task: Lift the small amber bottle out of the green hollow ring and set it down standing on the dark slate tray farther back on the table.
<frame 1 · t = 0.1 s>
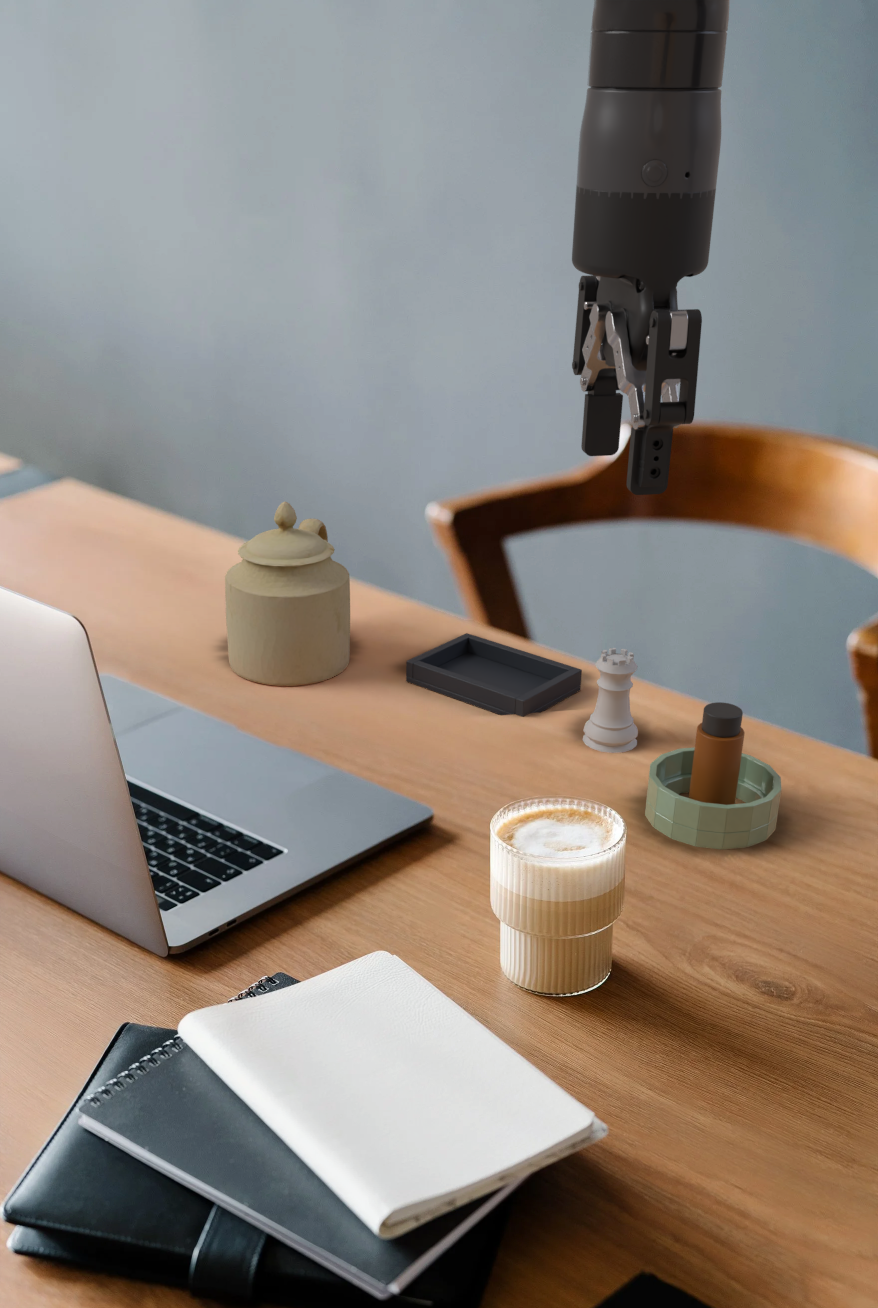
hand: (621, 472, 83), 27 cm above the table, tool pointing down, fingers open, 8 cm apart
bottle: (708, 824, 99), point 1 cm above the table, touching green hollow ring
green hollow ring: (707, 831, 99), on the table
rook chess piece: (609, 748, 111), on the table
sugar bowl: (285, 656, 128), on the table
tray: (492, 686, 122), on the table
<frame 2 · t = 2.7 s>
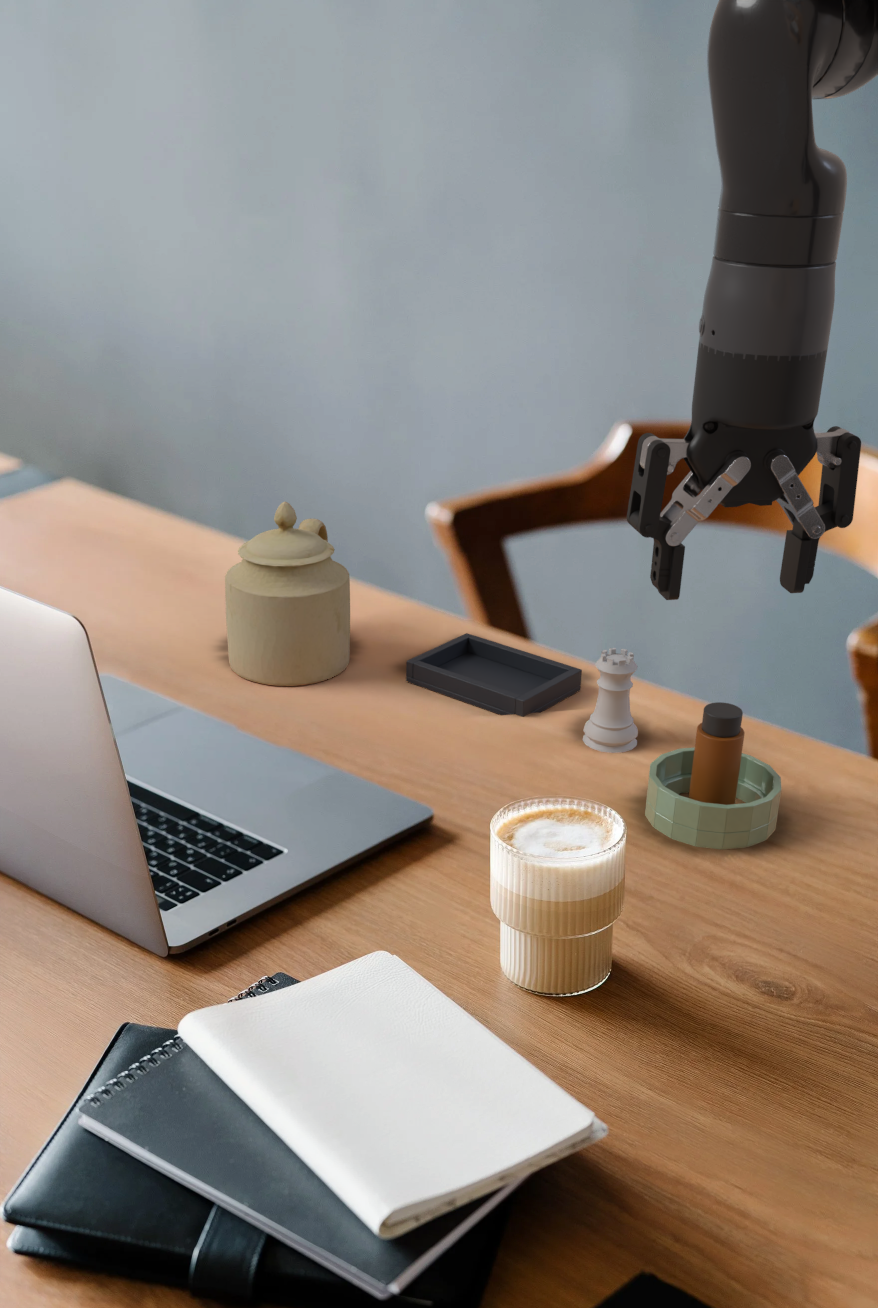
hand: (730, 592, 91), 18 cm above the table, tool pointing down, fingers open, 8 cm apart
nothing on the table moved.
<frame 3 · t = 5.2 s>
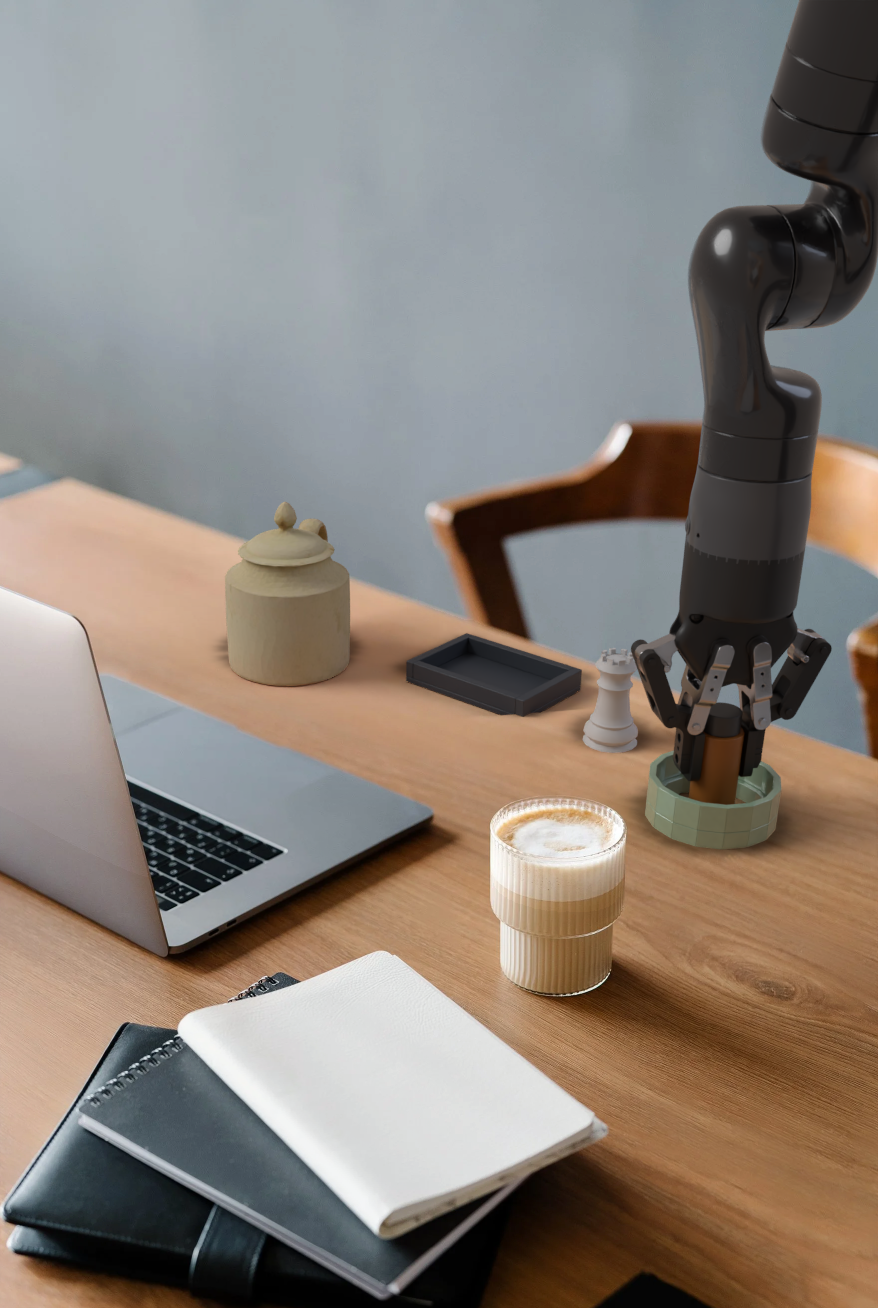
hand: (715, 772, 97), 5 cm above the table, tool pointing down, fingers closed on bottle, 3 cm apart
bottle: (708, 824, 99), point 1 cm above the table, touching green hollow ring, gripper
everything else where it was.
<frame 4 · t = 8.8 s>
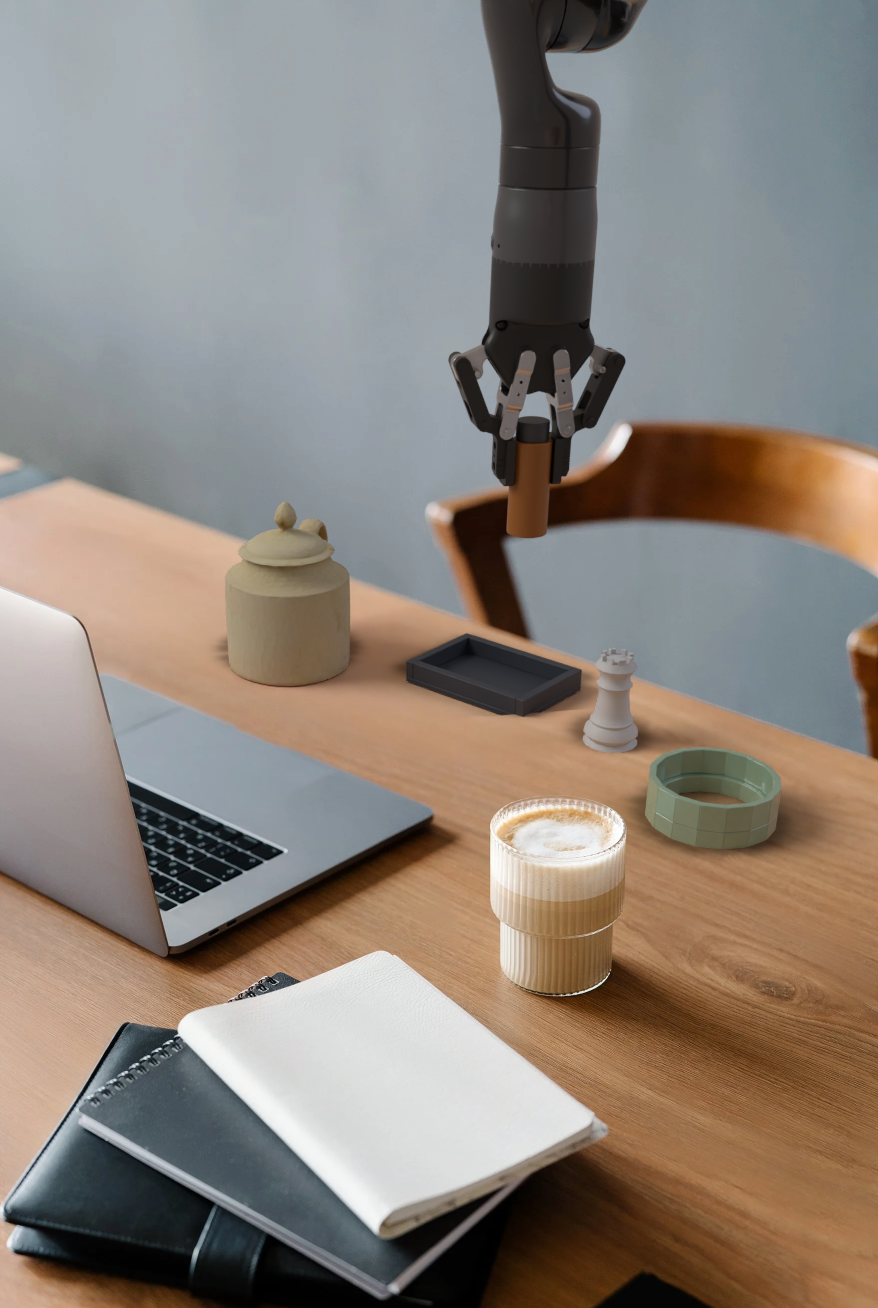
hand: (529, 481, 109), 19 cm above the table, tool pointing down, fingers closed on bottle, 3 cm apart
bottle: (526, 532, 111), point 15 cm above the table, touching gripper
everything else where it was.
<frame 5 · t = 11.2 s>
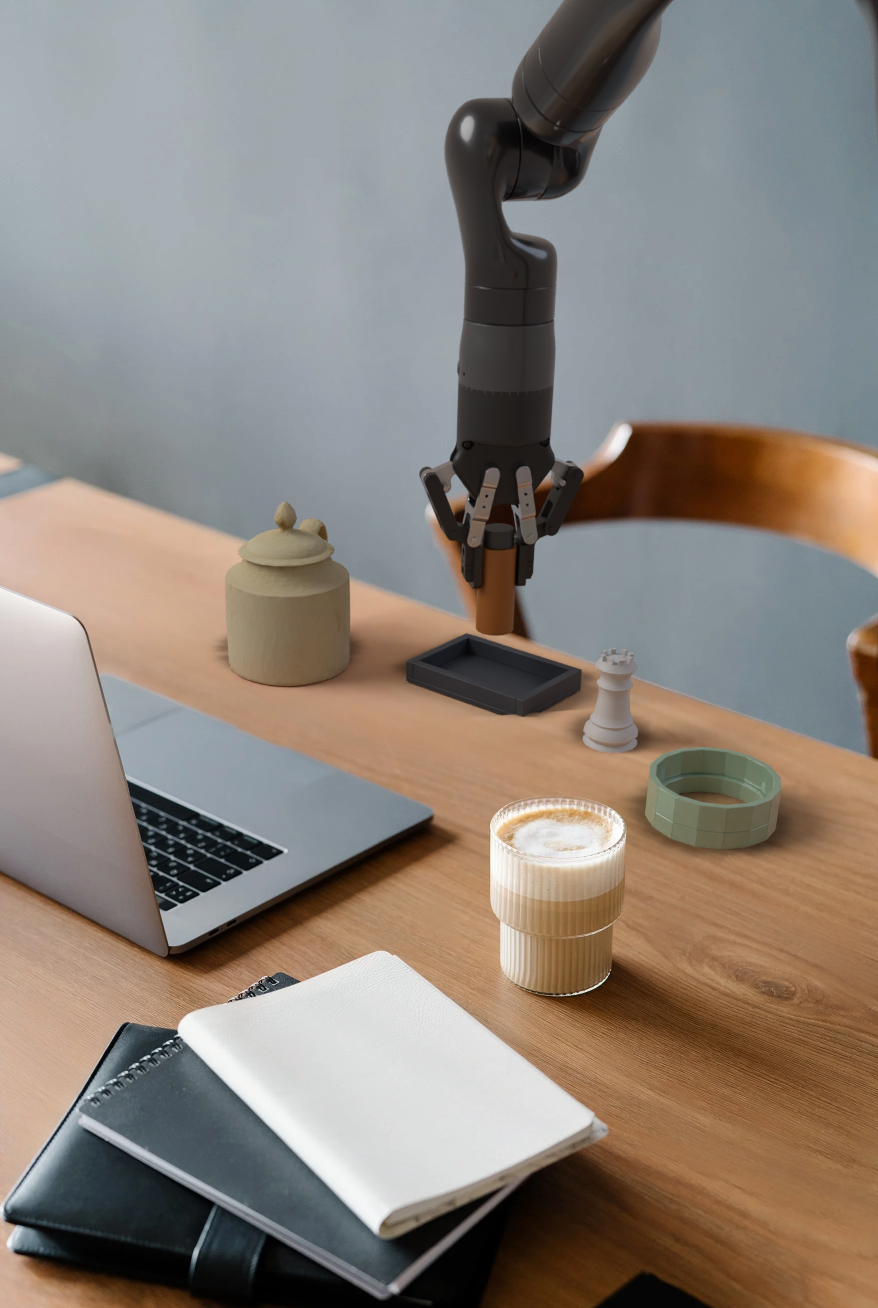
hand: (496, 583, 117), 9 cm above the table, tool pointing down, fingers closed on bottle, 3 cm apart
bottle: (494, 628, 119), point 5 cm above the table, touching gripper
everything else where it was.
when the fingers open (5 cm above the table, at t = 12.8 s): bottle stays where it is, resting on tray.
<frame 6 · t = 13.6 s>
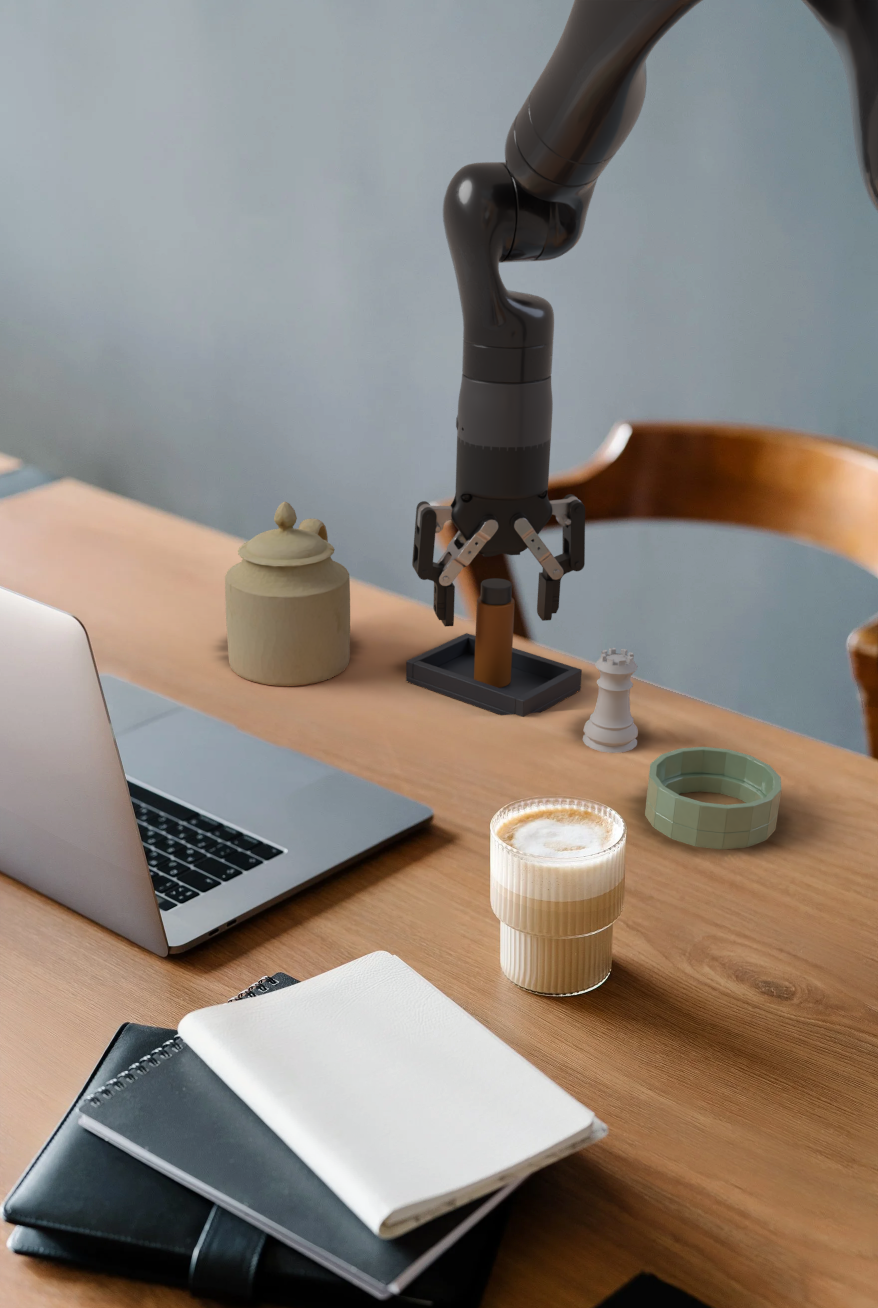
hand: (495, 620, 119), 6 cm above the table, tool pointing down, fingers open, 8 cm apart
bottle: (492, 680, 121), resting on tray
everything else where it was.
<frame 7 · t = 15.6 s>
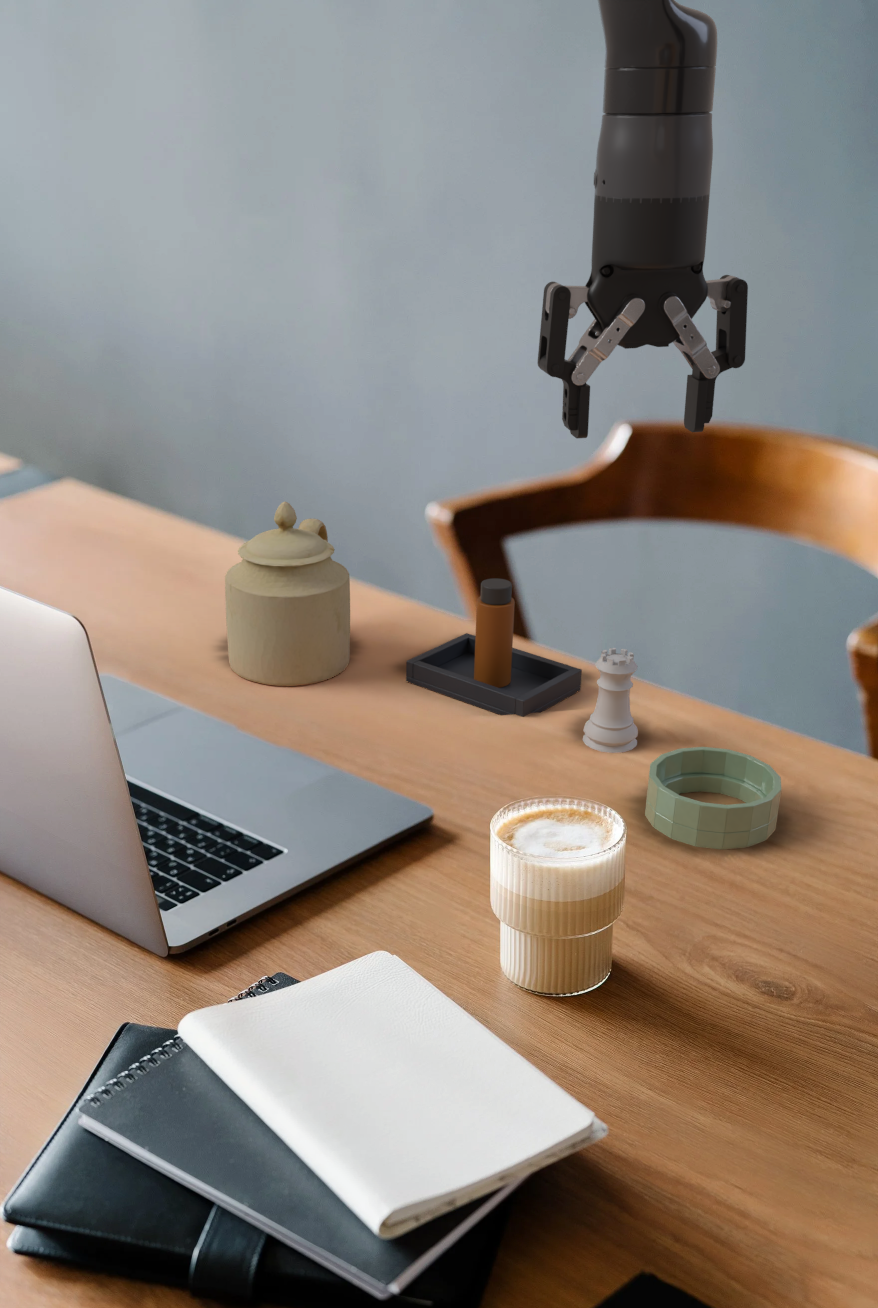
hand: (636, 432, 99), 25 cm above the table, tool pointing down, fingers open, 8 cm apart
nothing on the table moved.
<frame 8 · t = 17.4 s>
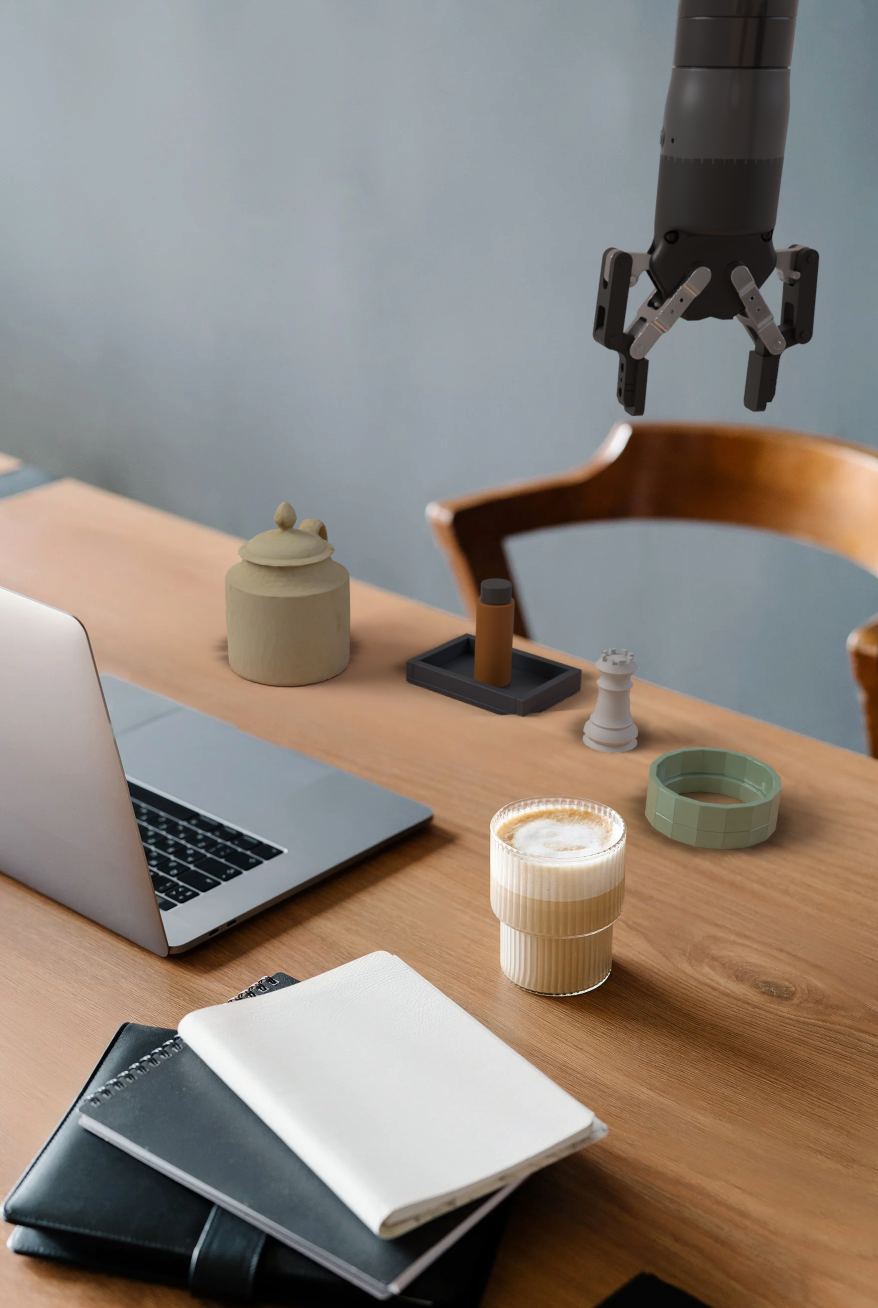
hand: (694, 411, 93), 28 cm above the table, tool pointing down, fingers open, 8 cm apart
nothing on the table moved.
at the end: bottle 0.1 cm off-centre in the tray, point 0.5 cm above the tray's base; bottle tilted 0°; the gripper is holding nothing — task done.
